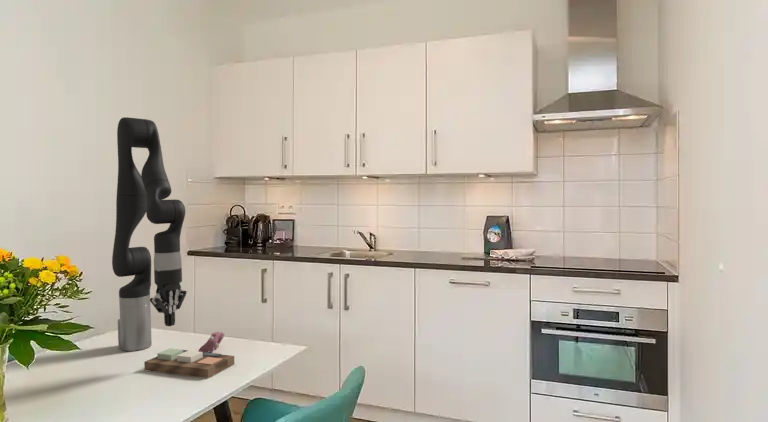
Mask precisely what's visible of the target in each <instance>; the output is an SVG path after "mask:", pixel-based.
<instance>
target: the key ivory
mask: <svg viewBox="0 0 768 422" xmlns="http://www.w3.org/2000/svg"><path fill="white" fill-rule="evenodd" d="M200 358H203V352H199V350H198V351H196V350H189V351H186V352H184V353H182V354H179V355H177V361H180V362H189V363H192V362H194V361H196V360H198V359H200Z"/></svg>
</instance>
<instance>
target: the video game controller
mask: <svg viewBox="0 0 768 422" xmlns="http://www.w3.org/2000/svg"><path fill="white" fill-rule="evenodd" d="M224 337H225V333H223V332H221V331H216V332H213V333H211V335H210V337H209V338H208V339H207V341H206V342H205V343H204V344H202V346H200V348H199V349H198V351H199V352H208V353H214V351H215V350H217V349H218V348H219V347H220V344H221V342H222V341H223V339H224ZM216 348H217V349H216Z"/></svg>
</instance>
